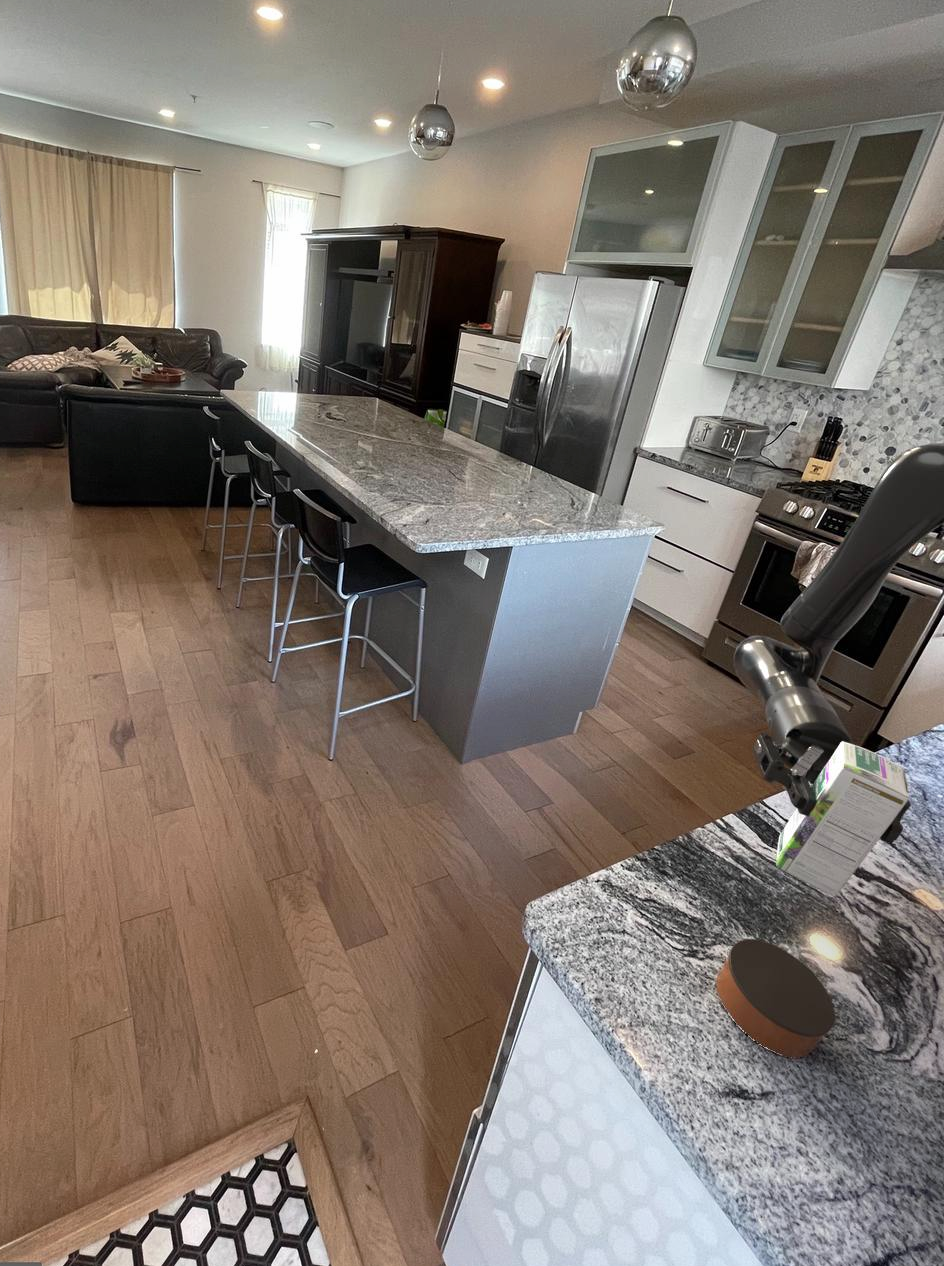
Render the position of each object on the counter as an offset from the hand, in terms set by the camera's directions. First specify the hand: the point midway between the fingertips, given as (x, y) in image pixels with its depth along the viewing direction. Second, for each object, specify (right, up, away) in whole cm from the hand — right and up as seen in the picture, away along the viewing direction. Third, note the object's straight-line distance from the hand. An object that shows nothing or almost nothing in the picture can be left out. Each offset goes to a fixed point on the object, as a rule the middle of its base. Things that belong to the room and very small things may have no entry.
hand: (849, 822), depth 63 cm
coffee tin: (-9, -19, 0) cm, 21 cm away
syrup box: (-1, -7, +5) cm, 9 cm away
